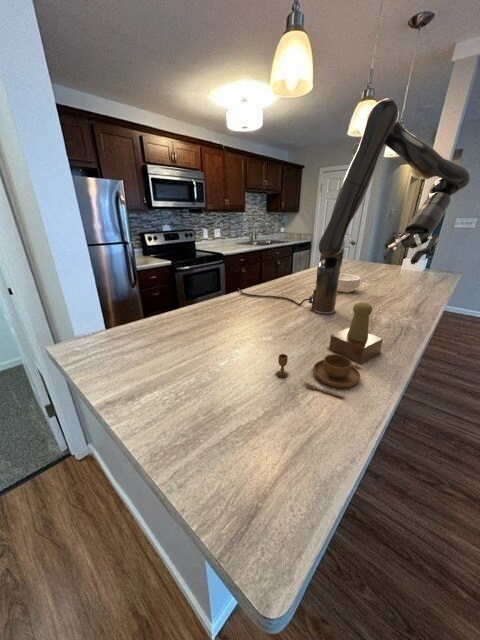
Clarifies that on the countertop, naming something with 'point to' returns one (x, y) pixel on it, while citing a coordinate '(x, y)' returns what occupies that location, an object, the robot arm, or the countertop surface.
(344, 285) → the paper bowls
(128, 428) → the countertop surface
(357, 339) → the cork
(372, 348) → the walnut block
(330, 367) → the place setting
